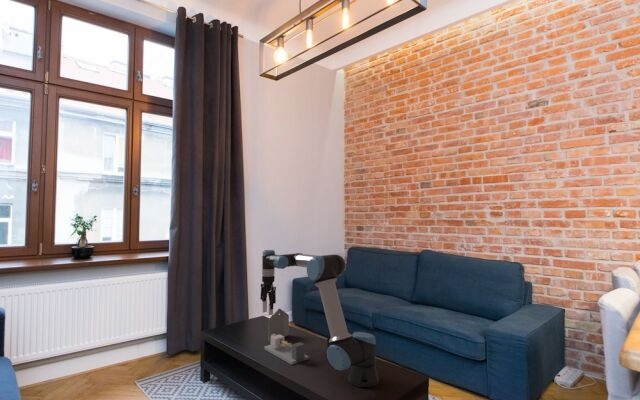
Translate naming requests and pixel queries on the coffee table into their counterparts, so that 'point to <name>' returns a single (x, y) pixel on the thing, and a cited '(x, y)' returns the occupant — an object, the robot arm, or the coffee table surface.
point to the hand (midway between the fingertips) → (267, 313)
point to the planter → (279, 324)
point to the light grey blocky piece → (288, 351)
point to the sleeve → (277, 340)
